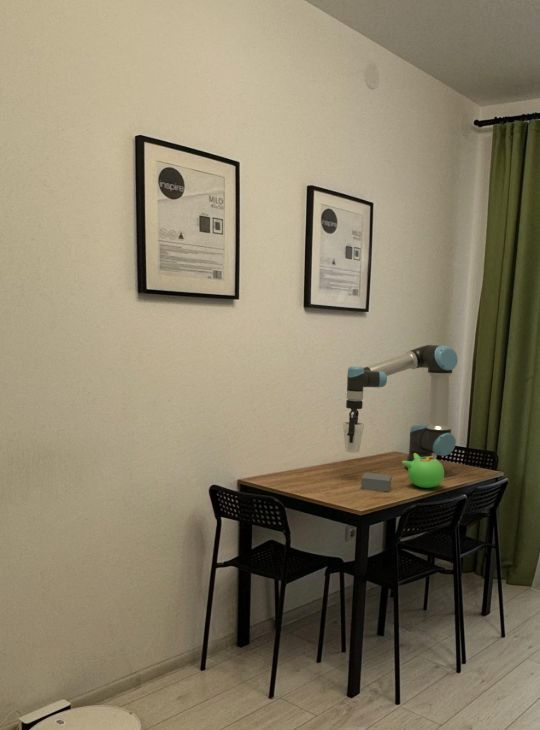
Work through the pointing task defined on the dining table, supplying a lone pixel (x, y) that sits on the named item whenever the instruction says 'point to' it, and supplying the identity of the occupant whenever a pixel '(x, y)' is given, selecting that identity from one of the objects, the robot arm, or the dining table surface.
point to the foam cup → (357, 435)
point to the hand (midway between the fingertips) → (352, 447)
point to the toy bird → (425, 471)
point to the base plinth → (376, 482)
